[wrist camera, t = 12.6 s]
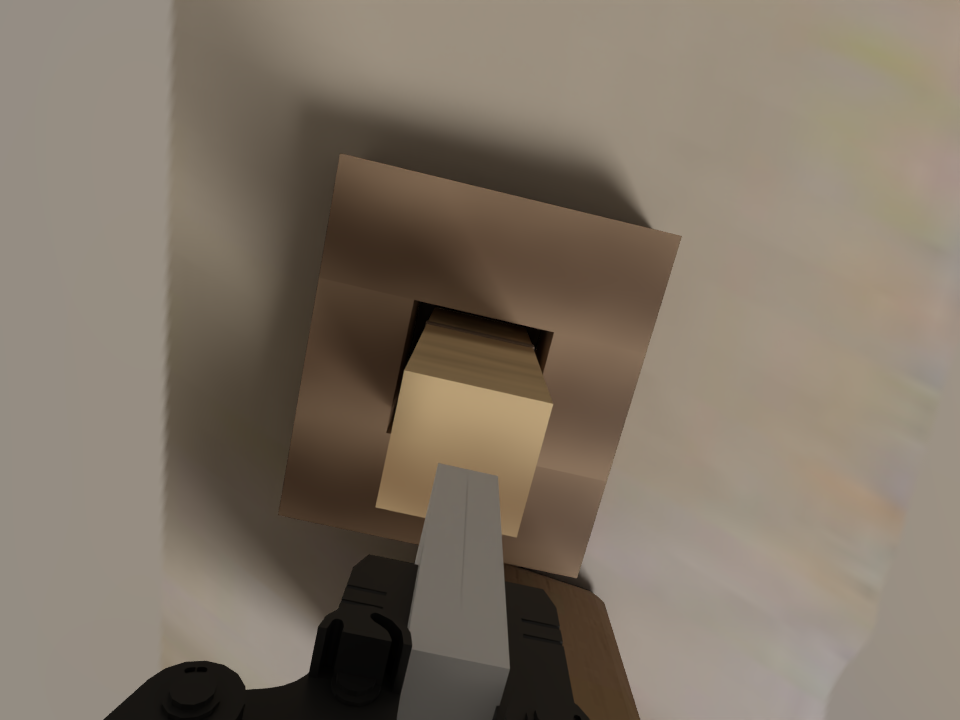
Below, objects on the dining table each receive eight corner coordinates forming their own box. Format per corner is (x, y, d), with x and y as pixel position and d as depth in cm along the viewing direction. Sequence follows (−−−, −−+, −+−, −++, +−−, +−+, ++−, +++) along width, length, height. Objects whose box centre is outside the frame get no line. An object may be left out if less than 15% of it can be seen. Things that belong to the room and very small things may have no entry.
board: (359, 160, 28) (339, 153, 24) (654, 232, 29) (682, 236, 25) (303, 477, 32) (278, 515, 28) (565, 534, 33) (577, 578, 29)
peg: (434, 305, 30) (402, 368, 18) (527, 326, 30) (555, 402, 18) (414, 394, 31) (373, 508, 19) (504, 414, 31) (517, 539, 19)
